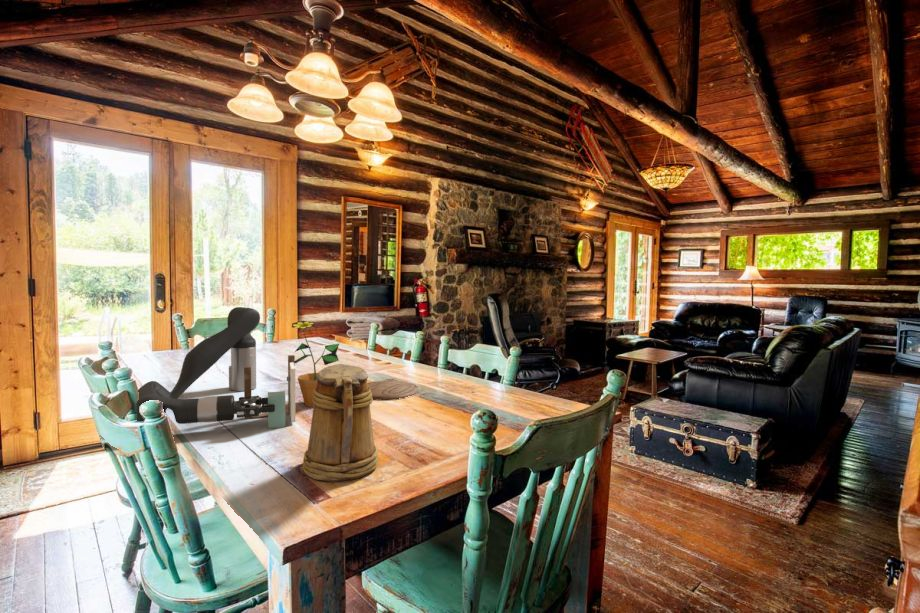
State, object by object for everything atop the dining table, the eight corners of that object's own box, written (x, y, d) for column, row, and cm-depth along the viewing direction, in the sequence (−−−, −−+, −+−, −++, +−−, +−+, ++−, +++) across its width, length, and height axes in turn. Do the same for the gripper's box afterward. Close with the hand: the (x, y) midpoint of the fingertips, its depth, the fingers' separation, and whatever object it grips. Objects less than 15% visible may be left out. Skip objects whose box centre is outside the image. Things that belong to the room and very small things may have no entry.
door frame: (244, 419, 147) (243, 358, 146) (245, 416, 150) (244, 357, 149) (294, 414, 153) (294, 356, 152) (294, 412, 156) (294, 354, 155)
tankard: (367, 448, 126) (368, 359, 124) (392, 484, 105) (393, 378, 103) (298, 457, 118) (298, 363, 117) (310, 499, 97) (310, 384, 96)
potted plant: (277, 405, 163) (277, 322, 161) (316, 394, 179) (316, 318, 177) (313, 414, 155) (314, 326, 152) (351, 401, 171) (351, 322, 169)
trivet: (344, 396, 178) (344, 392, 178) (374, 382, 202) (374, 378, 202) (403, 403, 171) (403, 398, 171) (427, 388, 195) (427, 383, 194)
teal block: (268, 428, 140) (267, 396, 139) (268, 423, 145) (267, 392, 144) (285, 426, 142) (285, 395, 141) (284, 421, 147) (284, 391, 146)
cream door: (286, 412, 152) (285, 362, 151) (293, 412, 153) (293, 362, 152) (287, 422, 143) (287, 369, 141) (295, 421, 144) (295, 368, 142)
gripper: (218, 414, 143) (274, 409, 149) (213, 428, 130) (275, 422, 136) (218, 390, 142) (274, 386, 149) (213, 403, 129) (275, 398, 135)
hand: (274, 404), depth 142 cm, fingers open, 8 cm apart
